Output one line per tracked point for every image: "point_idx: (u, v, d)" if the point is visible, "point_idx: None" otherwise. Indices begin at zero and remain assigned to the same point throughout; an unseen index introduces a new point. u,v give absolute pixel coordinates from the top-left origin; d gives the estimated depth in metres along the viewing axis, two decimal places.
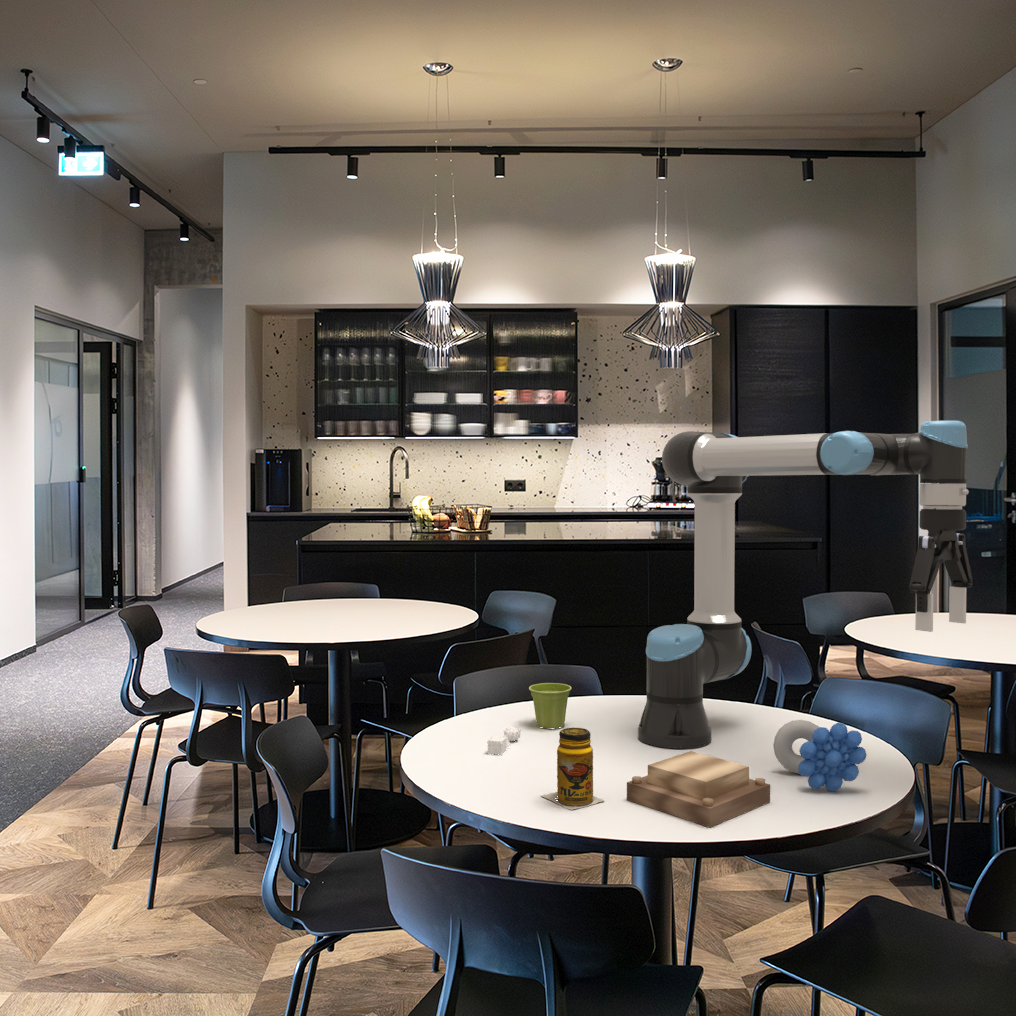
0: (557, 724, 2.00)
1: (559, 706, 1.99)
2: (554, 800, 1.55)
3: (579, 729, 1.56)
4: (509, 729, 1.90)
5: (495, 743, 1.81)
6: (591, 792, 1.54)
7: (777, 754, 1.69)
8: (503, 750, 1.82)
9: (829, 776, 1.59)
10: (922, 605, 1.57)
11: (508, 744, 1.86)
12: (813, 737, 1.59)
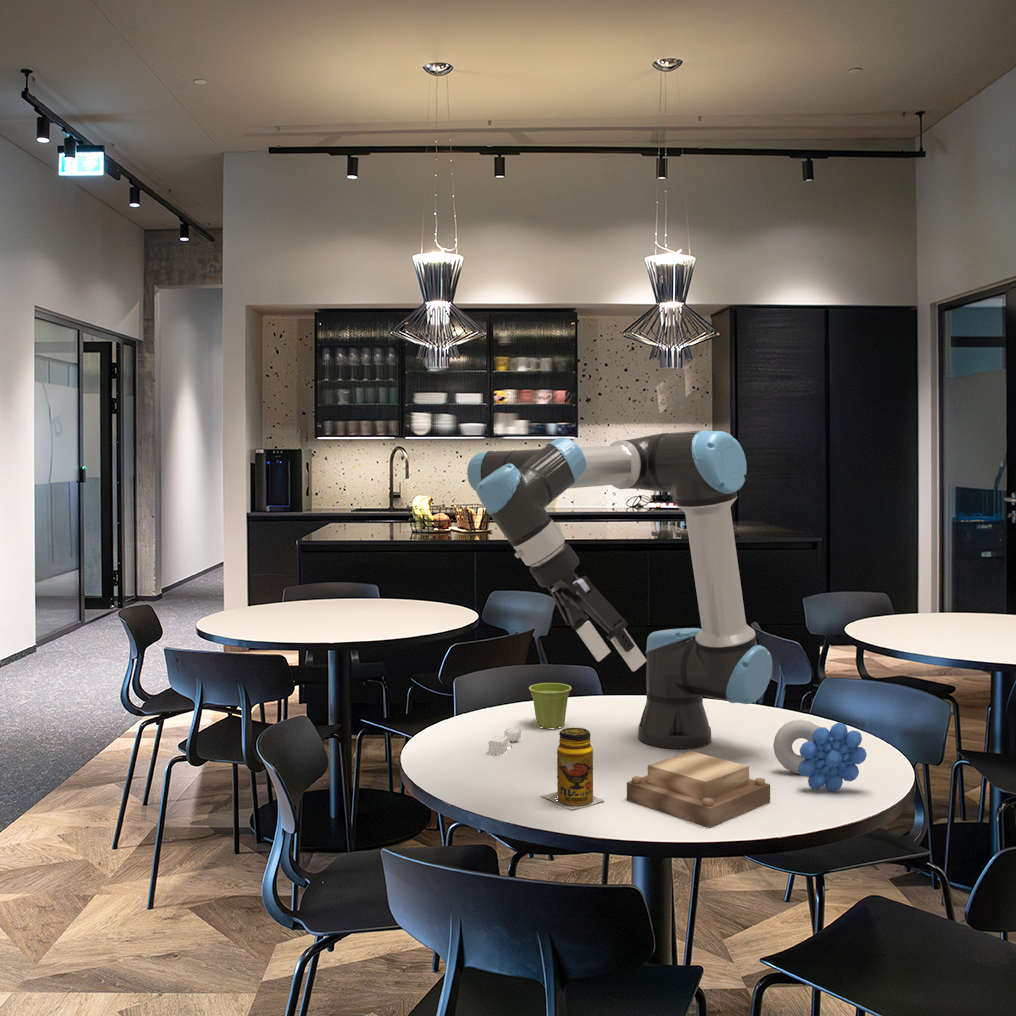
0: (557, 724, 2.00)
1: (559, 706, 1.99)
2: (554, 800, 1.55)
3: (579, 729, 1.56)
4: (509, 729, 1.90)
5: (496, 743, 1.81)
6: (591, 792, 1.54)
7: (777, 754, 1.69)
8: (504, 750, 1.82)
9: (829, 776, 1.59)
10: None
11: (509, 744, 1.86)
12: (813, 737, 1.59)
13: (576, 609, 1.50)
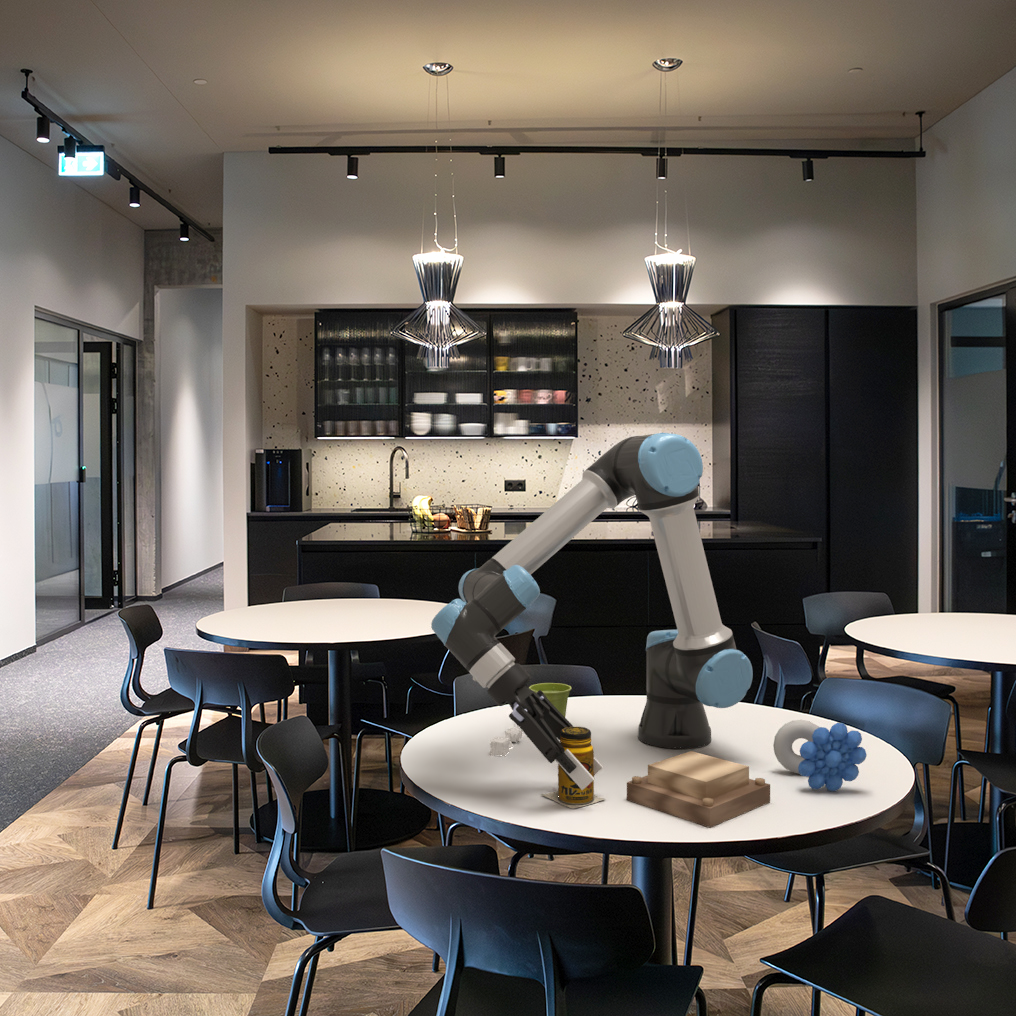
0: None
1: (559, 706, 1.99)
2: (555, 799, 1.55)
3: (580, 728, 1.56)
4: (511, 730, 1.90)
5: (498, 744, 1.81)
6: (592, 791, 1.54)
7: (777, 754, 1.69)
8: (506, 751, 1.81)
9: (829, 776, 1.59)
10: None
11: (510, 745, 1.86)
12: (813, 737, 1.59)
13: (553, 725, 1.59)
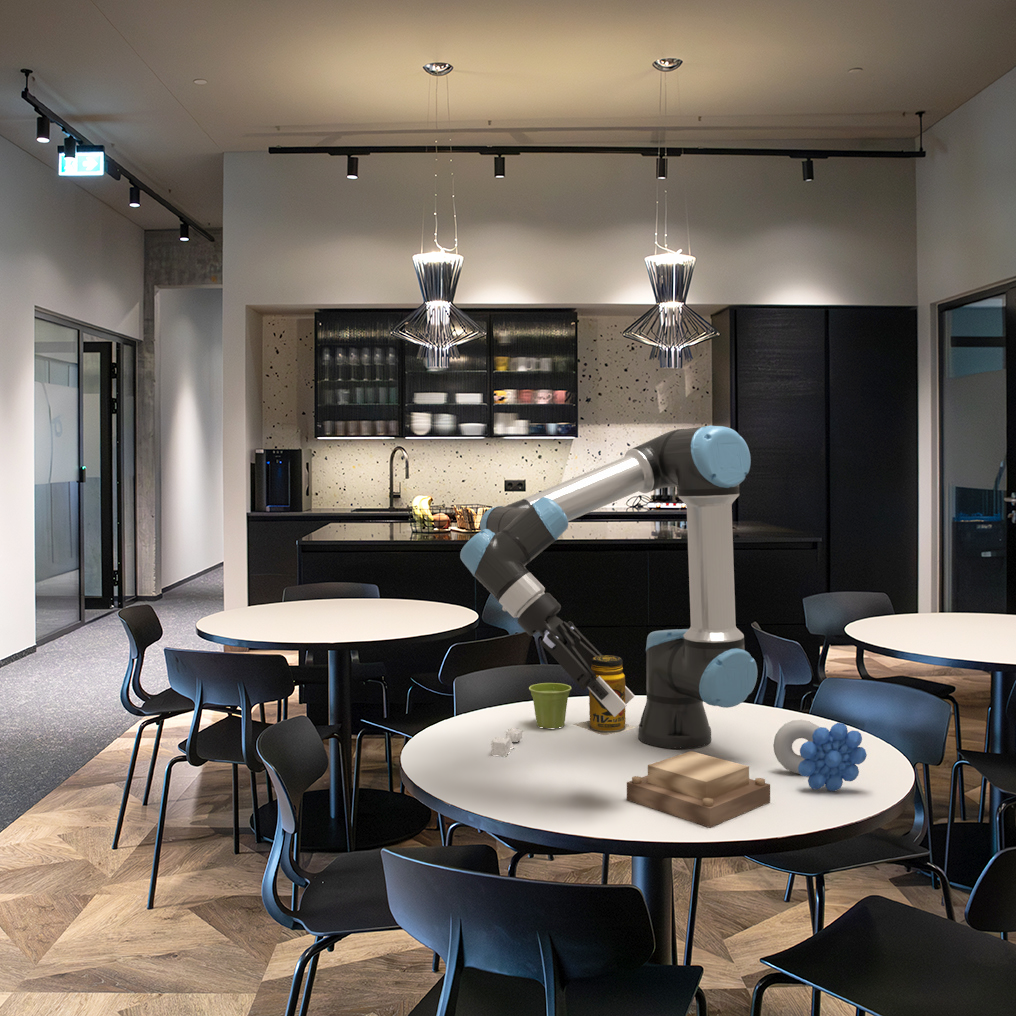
0: (557, 724, 2.00)
1: (559, 706, 1.99)
2: (586, 728, 1.54)
3: (611, 656, 1.55)
4: (511, 730, 1.90)
5: (499, 744, 1.80)
6: (624, 719, 1.53)
7: (777, 754, 1.69)
8: (507, 751, 1.81)
9: (829, 776, 1.59)
10: None
11: (511, 745, 1.85)
12: (813, 737, 1.59)
13: (583, 654, 1.58)
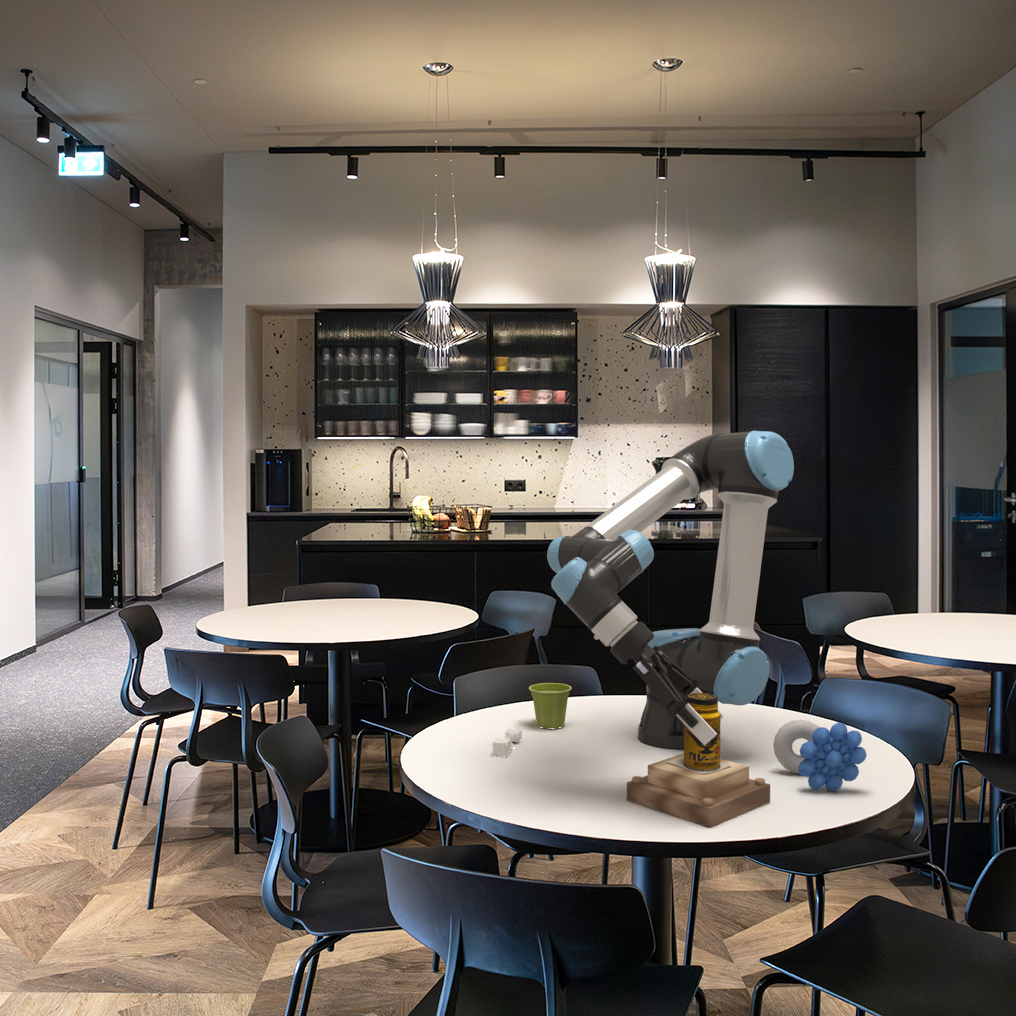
0: (557, 724, 2.00)
1: (559, 706, 1.99)
2: (681, 766, 1.54)
3: (705, 694, 1.55)
4: (511, 730, 1.89)
5: (500, 745, 1.80)
6: (719, 757, 1.53)
7: (777, 754, 1.69)
8: (508, 752, 1.81)
9: (829, 776, 1.59)
10: None
11: (511, 745, 1.85)
12: (813, 737, 1.59)
13: (675, 678, 1.60)
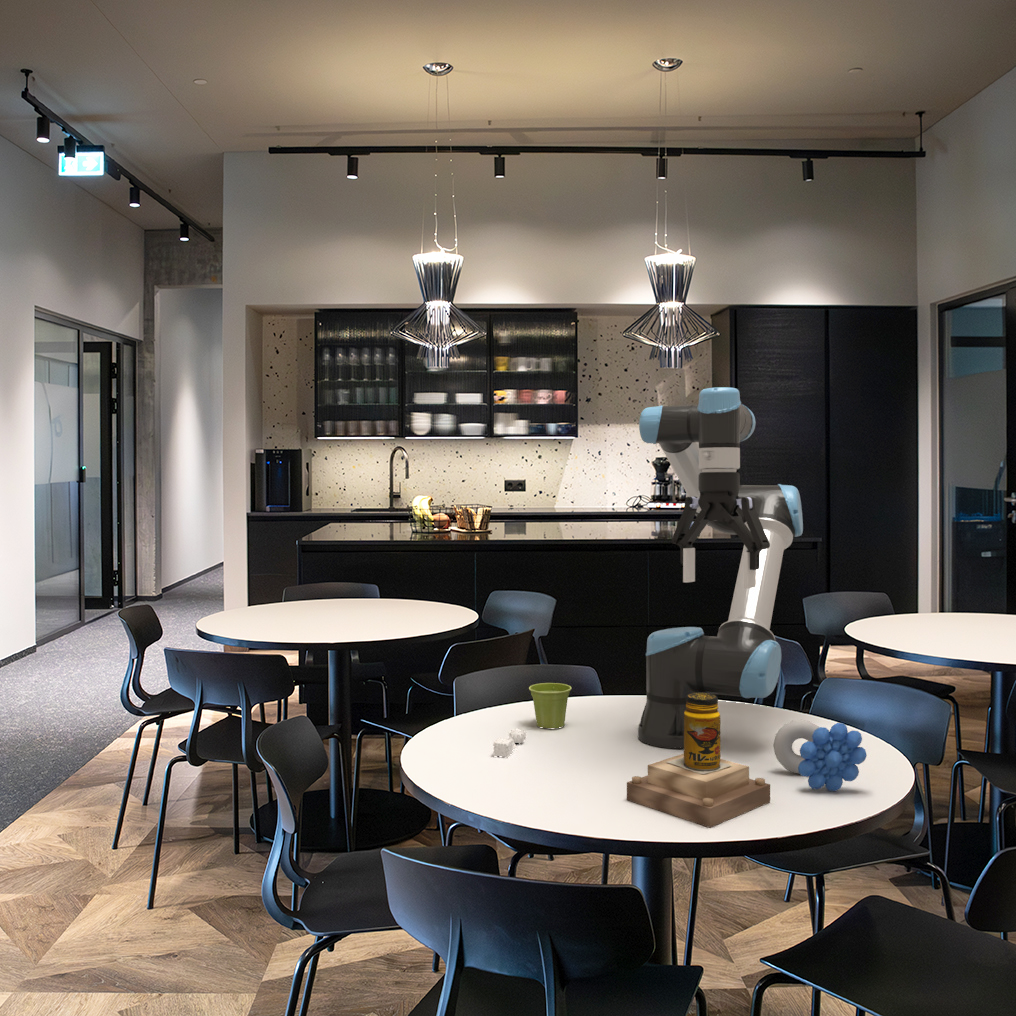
0: (557, 724, 2.00)
1: (559, 706, 1.99)
2: (681, 766, 1.54)
3: (705, 694, 1.55)
4: (514, 731, 1.89)
5: (501, 745, 1.80)
6: (719, 757, 1.53)
7: (777, 754, 1.69)
8: (509, 752, 1.80)
9: (829, 776, 1.59)
10: None
11: (514, 746, 1.85)
12: (813, 737, 1.59)
13: (699, 530, 1.74)
